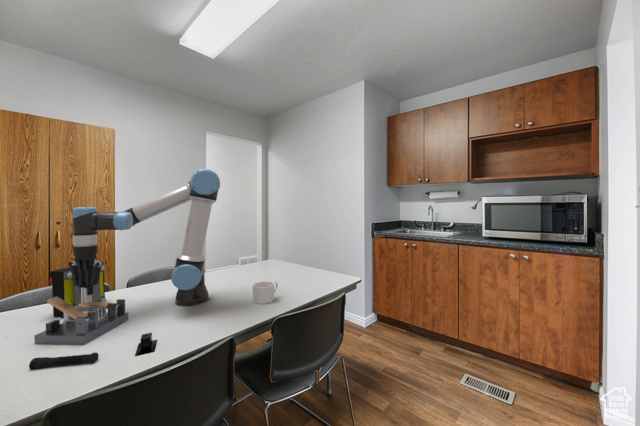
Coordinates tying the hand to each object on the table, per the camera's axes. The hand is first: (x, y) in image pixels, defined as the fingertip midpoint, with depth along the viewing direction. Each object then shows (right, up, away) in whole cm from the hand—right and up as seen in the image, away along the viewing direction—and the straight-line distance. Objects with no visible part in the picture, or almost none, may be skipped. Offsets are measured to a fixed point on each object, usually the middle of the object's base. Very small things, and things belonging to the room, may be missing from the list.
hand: (86, 302), depth 109 cm
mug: (+68, -7, +25) cm, 73 cm away
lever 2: (+5, -2, 0) cm, 5 cm away
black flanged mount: (+37, -9, -19) cm, 43 cm away
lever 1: (+5, +2, -13) cm, 14 cm away
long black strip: (+18, -10, -28) cm, 35 cm away
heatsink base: (+5, -9, -6) cm, 12 cm away
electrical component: (-15, -8, +15) cm, 23 cm away
